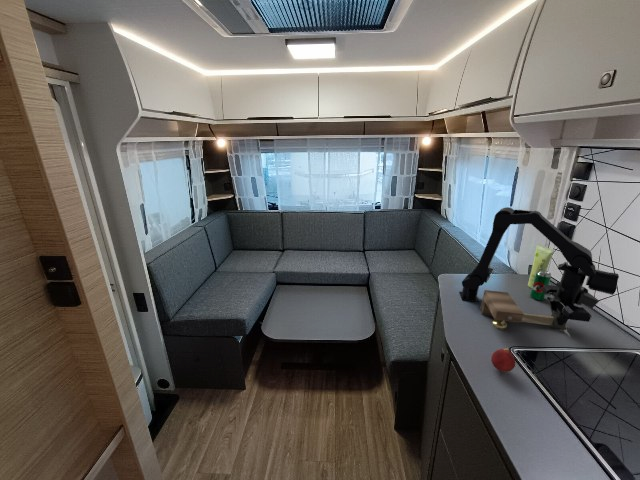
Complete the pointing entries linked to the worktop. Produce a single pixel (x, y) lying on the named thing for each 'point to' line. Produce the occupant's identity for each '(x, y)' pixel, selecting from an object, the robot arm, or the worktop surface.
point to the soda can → (540, 284)
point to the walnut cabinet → (500, 306)
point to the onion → (503, 360)
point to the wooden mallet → (543, 319)
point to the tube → (540, 261)
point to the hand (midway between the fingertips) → (557, 322)
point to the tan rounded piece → (499, 324)
